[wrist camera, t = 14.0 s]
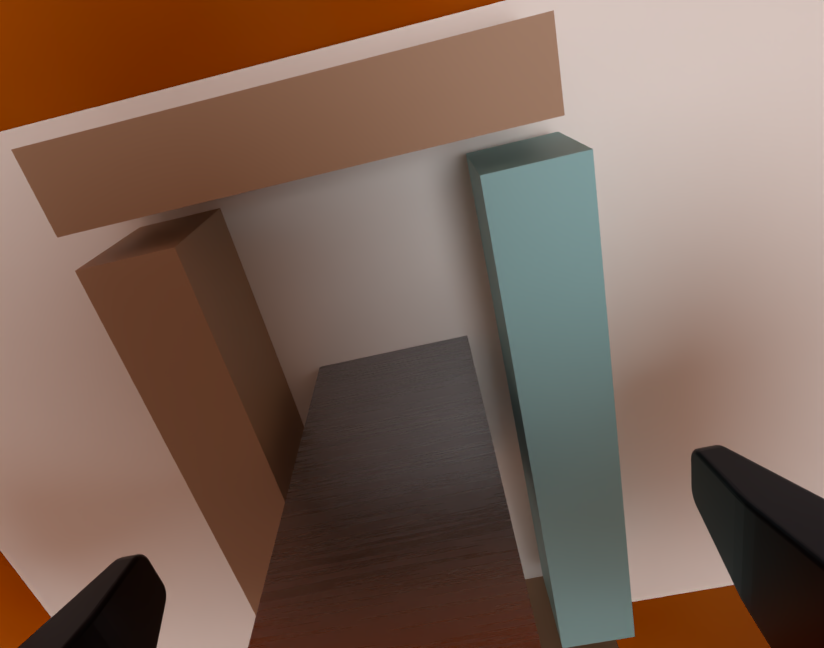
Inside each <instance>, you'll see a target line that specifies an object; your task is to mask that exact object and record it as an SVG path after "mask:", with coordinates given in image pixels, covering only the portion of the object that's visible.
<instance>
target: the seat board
mask: <svg viewBox="0 0 824 648" xmlns="http://www.w3.org/2000/svg"><path fill="white" fill-rule="evenodd" d="M554 132H560V133H562V134H564V135H566V136H568V137H570V138H572V139H574V140H576V141H578V142H580V143H582V144H584V145H586V146H588V147H590V148H592V149H593V156H594V167H595V179H596V191H597V202H598V214H599V226H600V237H601V249H602V261H603V272H604V284H605V296H606V307H607V319H608V331H609V342H610V354H611V366H612V377H613V389H614V401H615V412H616V424H617V436H618V447H619V459H620V471H621V482H622V494H623V506H624V517H625V529H626V541H627V552H628V564H629V576H630V587H631V599H632V602H634V601H640V600H646V599H652V598H658V597H664V596H670V595H676V594H682V593H688V592H693V591H699V590H705V589H711V588H717V587H723V586H729V585H734V583H733V581H732V579H731V577H730V575H729V573H728V571H727V569H726V567H725V565H724V563H723V561H722V559H721V556H720V554H719V552H718V550H717V548H716V546H715V544H714V542H713V540H712V538H711V536H710V534H709V532H708V529H707V527H706V525H705V523H704V521H703V519H702V517H701V515H700V513H699V511H698V509H697V507H696V504H695V502H694V499H693V495H692V489H691V454H692V451H693V450H695V449H697V448H702V447H707V446H712V445H721V446H724V447H726V448H728V449H730V450H732V451H734V452H736V453H738V454H740V455H742V456H744V457H746V458H747V459H749V460H751V461H753V462H755V463H757V464H759V465H761V466H763V467H765V468H767V469H769V470H770V471H772V472H774V473H776V474H778V475H780V476H782V477H784V478H786V479H788V480H790V481H791V482H793V483H795V484H797V485H799V486H801V487H803V488H805V489H807V490H809V491H811V492H813V493H814V494H816V495H818V496H820V497H822V498H824V0H506V1H502V2H498V3H494V4H490V5H486V6H483V7H479V8H475V9H471V10H467V11H463V12H459V13H456V14H452V15H448V16H444V17H440V18H436V19H433V20H429V21H425V22H421V23H417V24H413V25H409V26H406V27H402V28H398V29H394V30H390V31H386V32H382V33H379V34H375V35H371V36H367V37H363V38H359V39H356V40H352V41H348V42H344V43H340V44H336V45H332V46H329V47H325V48H321V49H317V50H313V51H309V52H306V53H302V54H298V55H294V56H290V57H286V58H282V59H279V60H275V61H271V62H267V63H263V64H259V65H256V66H252V67H248V68H244V69H240V70H236V71H232V72H229V73H225V74H221V75H217V76H213V77H209V78H205V79H202V80H198V81H194V82H190V83H186V84H182V85H179V86H175V87H171V88H167V89H163V90H159V91H155V92H152V93H148V94H144V95H140V96H136V97H132V98H129V99H125V100H121V101H117V102H113V103H109V104H105V105H102V106H98V107H94V108H90V109H86V110H82V111H79V112H75V113H71V114H67V115H63V116H59V117H55V118H52V119H48V120H44V121H40V122H36V123H32V124H28V125H25V126H21V127H17V128H13V129H9V130H5V131H2V132H0V551H1V552H2V553H3V555H4V556H5V557H6V559H7V560H8V561H9V563H10V564H11V565H12V566H13V568H14V569H15V570H16V572H17V573H18V574H19V576H20V577H21V578H22V580H23V581H24V582H25V583H26V585H27V586H28V587H29V589H30V590H31V591H32V593H33V594H34V595H35V597H36V598H37V599H38V600H39V602H40V603H41V604H42V606H43V607H44V608H45V610H46V611H47V612H48V614H49V615H50V616H51V617H53V616H54V615H55V614H56V613H57V612H58V611H59V610H60V609H61V608H63V607H64V606H65V605H66V604H67V603H68V602H69V601H70V600H71V599H73V598H74V597H75V596H76V595H77V594H78V593H79V592H80V591H81V590H83V589H84V588H85V587H86V586H87V585H88V584H89V583H90V582H91V581H93V580H94V579H95V578H96V577H97V576H98V575H99V574H100V573H101V572H102V571H104V570H105V569H106V568H107V567H108V566H109V565H110V564H111V563H112V562H114V561H115V560H116V559H118V558H121V557H125V556H130V555H135V554H143V555H145V556H146V557H147V558H148V559H149V561H150V562H151V564H152V566H153V567H154V569H155V571H156V572H157V574H158V576H159V577H160V579H161V580H162V582H163V584H164V586H165V589H166V604H165V609H164V614H163V619H162V624H161V629H160V633H159V638H158V643H157V648H248V645H249V641H250V638H251V634H252V630H253V626H254V622H255V618H256V614H257V610H258V606H259V602H260V598H261V595H262V591H263V587H264V583H265V579H266V575H267V571H268V567H269V563H270V559H271V555H272V551H273V548H274V544H275V540H276V536H277V532H278V528H279V524H280V520H281V516H282V512H283V508H284V505H285V501H286V497H287V493H288V489H289V485H290V481H291V477H292V473H293V469H294V465H295V462H296V458H297V454H298V450H299V446H300V442H301V438H302V434H303V430H304V426H305V422H306V418H307V415H308V411H309V407H310V403H311V399H312V395H313V391H314V387H315V383H316V379H317V375H318V372H319V368H320V367H321V366H326V365H331V364H335V363H340V362H345V361H349V360H354V359H359V358H363V357H368V356H373V355H378V354H382V353H387V352H392V351H396V350H401V349H406V348H410V347H415V346H420V345H424V344H429V343H434V342H438V341H443V340H448V339H452V338H457V337H462V336H466V335H467V336H468V341H469V345H470V349H471V353H472V357H473V362H474V366H475V370H476V374H477V379H478V383H479V387H480V391H481V396H482V400H483V404H484V408H485V412H486V417H487V421H488V425H489V429H490V434H491V438H492V442H493V446H494V450H495V455H496V459H497V463H498V467H499V472H500V476H501V480H502V484H503V488H504V493H505V497H506V501H507V505H508V510H509V514H510V518H511V522H512V526H513V531H514V535H515V539H516V543H517V548H518V552H519V556H520V560H521V565H522V569H523V573H524V577H525V581H526V586H527V590H528V594H529V598H530V603H531V607H532V611H533V615H534V619H535V624H536V628H537V632H538V636H539V641H540V645H541V648H562V645H561V641H560V637H559V634H558V630H557V626H556V623H555V619H554V615H553V612H552V608H551V604H550V601H549V597H548V593H547V590H546V586H545V582H544V579H543V574H542V569H541V563H540V558H539V552H538V547H537V541H536V536H535V530H534V525H533V519H532V514H531V508H530V503H529V498H528V492H527V487H526V481H525V476H524V470H523V465H522V459H521V454H520V448H519V443H518V437H517V432H516V426H515V421H514V415H513V410H512V404H511V399H510V393H509V388H508V382H507V377H506V371H505V366H504V361H503V355H502V350H501V344H500V339H499V333H498V328H497V322H496V317H495V311H494V306H493V300H492V295H491V289H490V284H489V278H488V273H487V267H486V262H485V256H484V251H483V245H482V240H481V234H480V229H479V223H478V218H477V213H476V207H475V202H474V196H473V191H472V185H471V180H470V174H469V169H468V163H467V158H466V153H470V152H475V151H479V150H483V149H487V148H491V147H495V146H500V145H504V144H508V143H512V142H516V141H521V140H525V139H529V138H533V137H537V136H542V135H546V134H550V133H554ZM568 648H619V647H618V645H617V642H616V640H611V641H605V642H599V643H593V644H587V645H581V646H574V647H568Z"/></svg>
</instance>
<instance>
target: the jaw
mask: <svg viewBox="0 0 824 648" xmlns="http://www.w3.org/2000/svg"><path fill="white" fill-rule="evenodd" d="M466 158H467V163H468V169H469V174H470V180H471V185H472V191H473V196H474V202H475V207H476V213H477V218H478V223H479V229H480V234H481V240H482V245H483V251H484V256H485V262H486V267H487V273H488V278H489V284H490V289H491V295H492V300H493V306H494V311H495V317H496V322H497V328H498V333H499V339H500V344H501V350H502V355H503V361H504V366H505V371H506V377H507V382H508V388H509V393H510V399H511V404H512V410H513V415H514V421H515V426H516V432H517V437H518V443H519V448H520V454H521V459H522V465H523V470H524V476H525V481H526V487H527V492H528V498H529V503H530V508H531V514H532V519H533V525H534V530H535V536H536V541H537V547H538V552H539V558H540V563H541V569H542V574H543V579H544V582H545V586H546V590H547V593H548V597H549V601H550V604H551V608H552V612H553V615H554V619H555V623H556V626H557V630H558V634H559V637H560V641H561V645H562V648H568V647H574V646H581V645H587V644H593V643H599V642H605V641H611V640H617V639H623V638H629V637H635V634H634V622H633V611H632V599H631V587H630V576H629V564H628V552H627V541H626V529H625V517H624V506H623V494H622V482H621V471H620V459H619V447H618V436H617V424H616V412H615V401H614V389H613V377H612V366H611V354H610V342H609V331H608V319H607V307H606V296H605V284H604V272H603V261H602V249H601V237H600V226H599V214H598V202H597V191H596V179H595V167H594V156H593V149H592V148H590V147H588V146H586V145H584V144H582V143H580V142H578V141H576V140H574V139H572V138H570V137H568V136H566V135H564V134H562V133H560V132H554V133H550V134H546V135H542V136H537V137H533V138H529V139H525V140H521V141H516V142H512V143H508V144H504V145H500V146H495V147H491V148H487V149H483V150H479V151H475V152H470V153H466Z"/></svg>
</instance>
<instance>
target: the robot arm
mask: <svg viewBox="0 0 824 648" xmlns="http://www.w3.org/2000/svg"><path fill="white" fill-rule="evenodd" d="M691 489H692V495H693V499H694V502H695V504H696V507H697V509H698V511H699V513H700V515H701V517H702V519H703V521H704V523H705V525H706V527H707V529H708V532H709V534H710V536H711V538H712V540H713V542H714V544H715V546H716V548H717V550H718V552H719V554H720V556H721V559H722V561H723V563H724V565H725V567H726V569H727V571H728V573H729V575H730V577H731V579H732V581H733V583H734V585H735V587H736V589H737V591H738V593H739V595H740V597H741V599H742V601H743V603H744V604H745V606H746V608H747V609H748V611H749V613H750V615H751V616H752V618H753V619H754V621H755V623H756V624H757V626H758V627H759V629H760V631H761V632H762V634H763V636H764V637H765V639H766V640H767V642H768V644H769V645H770V647H771V648H824V498H822V497H820V496H818V495H816V494H814V493H813V492H811V491H809V490H807V489H805V488H803V487H801V486H799V485H797V484H795V483H793V482H791V481H790V480H788V479H786V478H784V477H782V476H780V475H778V474H776V473H774V472H772V471H770V470H769V469H767V468H765V467H763V466H761V465H759V464H757V463H755V462H753V461H751V460H749V459H747V458H746V457H744V456H742V455H740V454H738V453H736V452H734V451H732V450H730V449H728V448H726V447H724V446H721V445H712V446H707V447H702V448H697V449H695V450H693V451H692V454H691ZM165 604H166V589H165V586H164V584H163V582H162V580H161V579H160V577H159V576H158V574H157V572H156V571H155V569H154V567H153V566H152V564H151V562H150V561H149V559H148V558H147V557H146V556H145V555H143V554H135V555H130V556H125V557H121V558H118V559H116V560H115V561H114V562H112V563H111V564H110V565H109V566H108V567H107V568H106V569H105V570H104V571H102V572H101V573H100V574H99V575H98V576H97V577H96V578H95V579H94V580H93V581H91V582H90V583H89V584H88V585H87V586H86V587H85V588H84V589H83V590H81V591H80V592H79V593H78V594H77V595H76V596H75V597H74V598H73V599H71V600H70V601H69V602H68V603H67V604H66V605H65V606H64V607H63V608H61V609H60V610H59V611H58V612H57V613H56V614H55V615H54V616H53V617H51V618H50V619H49V620H48V621H47V622H46V623H45V624H44V625H43V626H41V627H40V628H39V629H38V630H37V631H36V632H35V633H34V634H33V635H31V636H30V637H29V638H28V639H27V640H26V641H25V642H24V643H23V644H21V645H20V646H19V647H18V648H157V643H158V638H159V633H160V629H161V624H162V619H163V614H164V609H165Z"/></svg>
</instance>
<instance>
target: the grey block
mask: <svg viewBox="0 0 824 648" xmlns="http://www.w3.org/2000/svg"><path fill="white" fill-rule="evenodd" d="M248 648H541V645H540V641H539V636H538V632H537V628H536V624H535V619H534V615H533V611H532V607H531V603H530V598H529V594H528V590H527V586H526V581H525V577H524V573H523V569H522V565H521V560H520V556H519V552H518V548H517V543H516V539H515V535H514V531H513V526H512V522H511V518H510V514H509V510H508V505H507V501H506V497H505V493H504V488H503V484H502V480H501V476H500V472H499V467H498V463H497V459H496V455H495V450H494V446H493V442H492V438H491V434H490V429H489V425H488V421H487V417H486V412H485V408H484V404H483V400H482V396H481V391H480V387H479V383H478V379H477V374H476V370H475V366H474V362H473V357H472V353H471V349H470V345H469V341H468V336H467V335H466V336H462V337H457V338H452V339H448V340H443V341H438V342H434V343H429V344H424V345H420V346H415V347H410V348H406V349H401V350H396V351H392V352H387V353H382V354H378V355H373V356H368V357H363V358H359V359H354V360H349V361H345V362H340V363H335V364H331V365H326V366H321V367H320V368H319V372H318V375H317V379H316V383H315V387H314V391H313V395H312V399H311V403H310V407H309V411H308V415H307V418H306V422H305V426H304V430H303V434H302V438H301V442H300V446H299V450H298V454H297V458H296V462H295V465H294V469H293V473H292V477H291V481H290V485H289V489H288V493H287V497H286V501H285V505H284V508H283V512H282V516H281V520H280V524H279V528H278V532H277V536H276V540H275V544H274V548H273V551H272V555H271V559H270V563H269V567H268V571H267V575H266V579H265V583H264V587H263V591H262V595H261V598H260V602H259V606H258V610H257V614H256V618H255V622H254V626H253V630H252V634H251V638H250V641H249V645H248Z"/></svg>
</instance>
